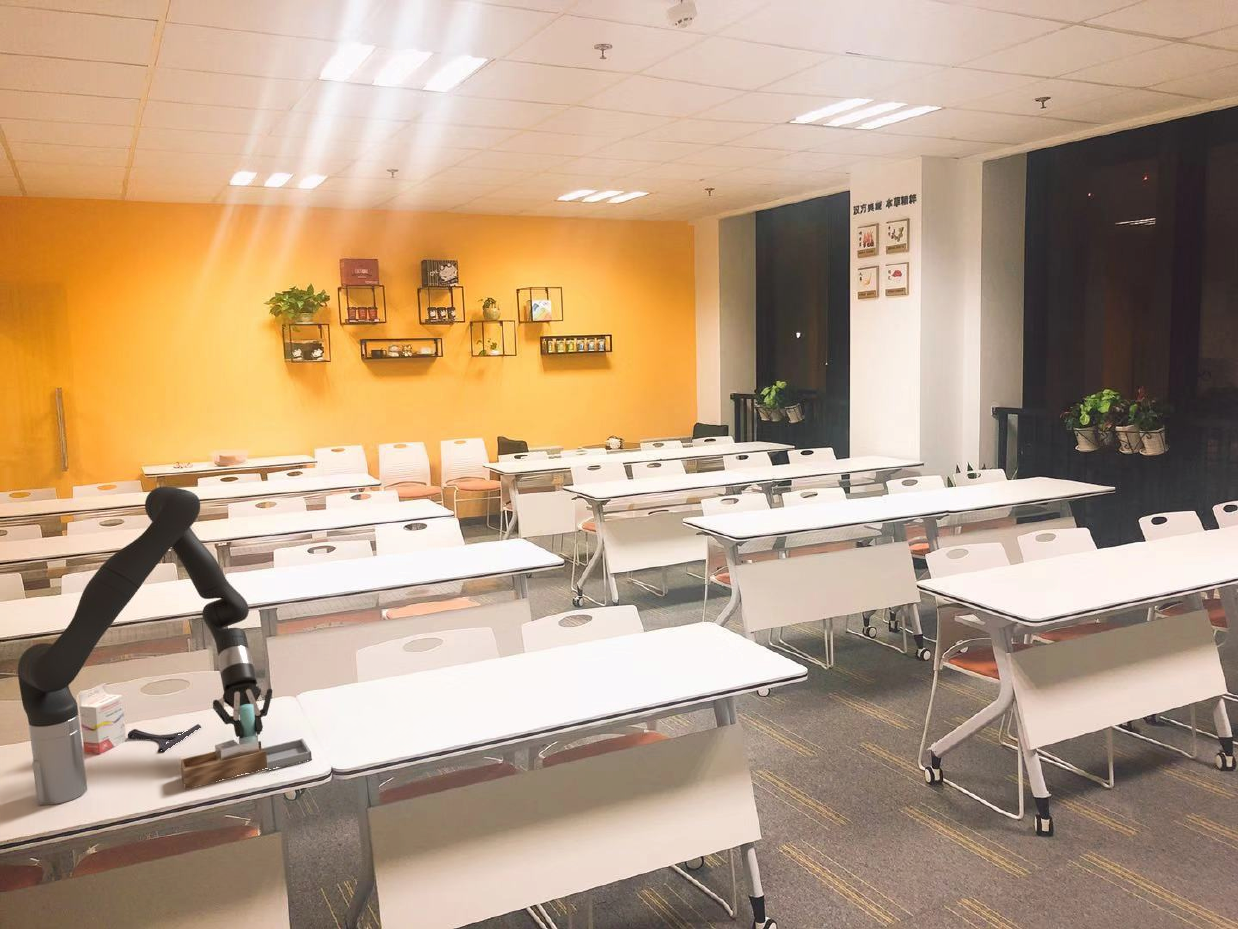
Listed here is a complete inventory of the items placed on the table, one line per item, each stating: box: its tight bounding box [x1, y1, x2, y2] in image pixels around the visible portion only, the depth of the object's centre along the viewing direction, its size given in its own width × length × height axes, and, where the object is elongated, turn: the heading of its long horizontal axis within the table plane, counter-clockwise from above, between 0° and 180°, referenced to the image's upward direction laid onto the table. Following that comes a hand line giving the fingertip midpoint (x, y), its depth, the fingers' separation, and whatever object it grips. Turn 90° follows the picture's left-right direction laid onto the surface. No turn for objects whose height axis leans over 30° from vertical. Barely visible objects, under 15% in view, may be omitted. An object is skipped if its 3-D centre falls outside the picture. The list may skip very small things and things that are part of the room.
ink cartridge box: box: [78, 682, 127, 755], centre depth 230 cm, size 9×5×15 cm, turn 164°
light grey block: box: [214, 739, 240, 762], centre depth 213 cm, size 4×4×4 cm
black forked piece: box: [127, 723, 202, 753], centre depth 234 cm, size 14×15×3 cm
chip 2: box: [238, 734, 259, 757], centre depth 215 cm, size 4×4×4 cm
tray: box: [261, 738, 313, 771], centre depth 219 cm, size 10×9×2 cm
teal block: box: [239, 704, 257, 738], centre depth 221 cm, size 3×5×12 cm, turn 30°
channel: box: [179, 740, 268, 790], centre depth 213 cm, size 17×7×4 cm, turn 120°
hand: (250, 734), depth 219 cm, fingers closed on teal block, 3 cm apart
